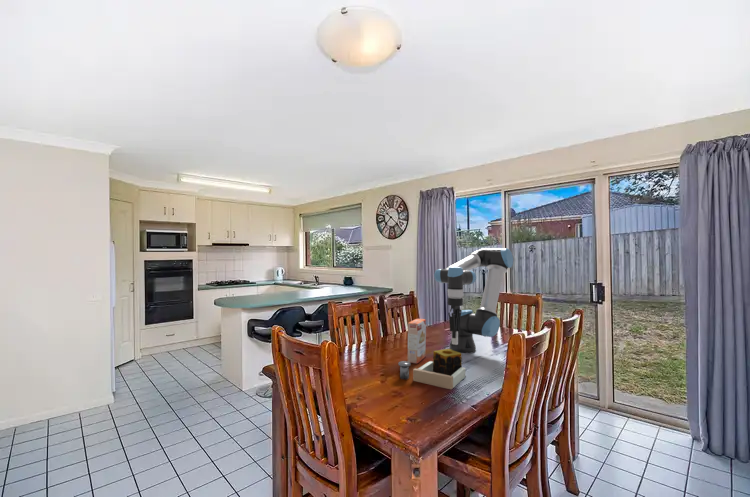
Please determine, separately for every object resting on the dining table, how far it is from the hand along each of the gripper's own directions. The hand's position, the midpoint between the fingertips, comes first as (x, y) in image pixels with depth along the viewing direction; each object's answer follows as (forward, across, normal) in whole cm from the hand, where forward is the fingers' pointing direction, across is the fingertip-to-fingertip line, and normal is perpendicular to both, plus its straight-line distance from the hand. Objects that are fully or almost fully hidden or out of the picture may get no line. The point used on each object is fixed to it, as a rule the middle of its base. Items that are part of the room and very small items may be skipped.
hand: (454, 344), depth 175 cm
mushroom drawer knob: (+12, +28, -14) cm, 33 cm away
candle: (+12, +10, 0) cm, 16 cm away
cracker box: (+12, 0, -21) cm, 24 cm away
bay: (+12, +18, 0) cm, 22 cm away
